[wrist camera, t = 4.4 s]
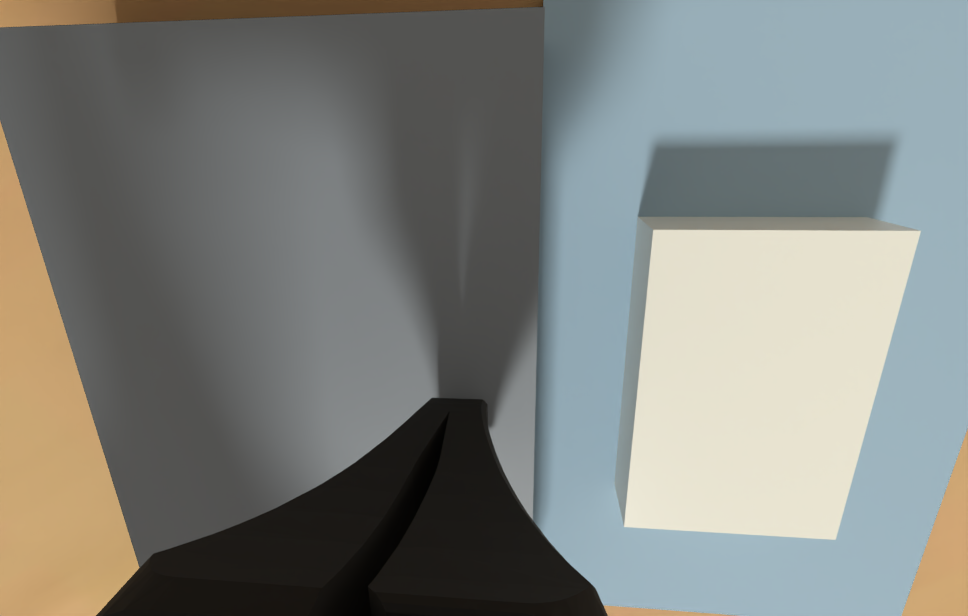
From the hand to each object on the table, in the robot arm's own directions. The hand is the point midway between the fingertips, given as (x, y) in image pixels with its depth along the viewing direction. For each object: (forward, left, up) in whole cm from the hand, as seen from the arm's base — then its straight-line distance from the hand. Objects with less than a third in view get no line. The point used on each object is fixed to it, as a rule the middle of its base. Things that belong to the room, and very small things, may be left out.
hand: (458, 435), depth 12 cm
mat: (0, -8, -5) cm, 10 cm away
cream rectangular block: (0, -7, -2) cm, 8 cm away
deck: (0, +4, -5) cm, 6 cm away
